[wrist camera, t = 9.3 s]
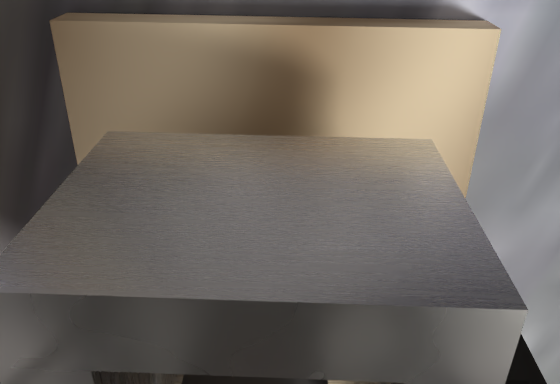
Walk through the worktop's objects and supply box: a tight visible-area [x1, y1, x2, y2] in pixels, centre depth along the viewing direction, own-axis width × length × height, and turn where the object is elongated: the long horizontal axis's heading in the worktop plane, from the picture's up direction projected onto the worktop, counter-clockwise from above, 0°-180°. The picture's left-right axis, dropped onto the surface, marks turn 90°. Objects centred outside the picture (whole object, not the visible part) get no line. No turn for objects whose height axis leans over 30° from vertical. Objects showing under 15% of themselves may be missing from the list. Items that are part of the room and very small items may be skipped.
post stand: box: [50, 13, 501, 384], centre depth 10 cm, size 10×10×11 cm
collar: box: [0, 131, 528, 384], centre depth 10 cm, size 6×6×5 cm
